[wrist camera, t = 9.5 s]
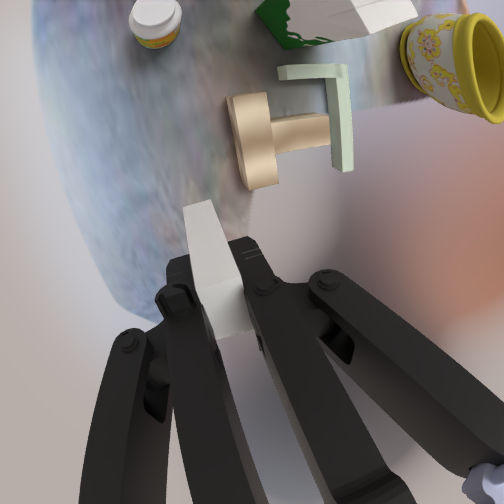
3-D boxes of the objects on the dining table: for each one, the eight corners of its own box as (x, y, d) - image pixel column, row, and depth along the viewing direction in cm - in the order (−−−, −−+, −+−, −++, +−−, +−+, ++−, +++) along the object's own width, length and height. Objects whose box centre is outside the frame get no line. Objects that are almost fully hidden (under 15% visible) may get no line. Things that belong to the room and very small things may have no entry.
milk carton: (296, -14, 23) (393, -61, 7) (330, 35, 28) (442, 21, 12) (244, 8, 24) (321, -56, 8) (282, 59, 29) (387, 43, 13)
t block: (225, 96, 30) (232, 97, 27) (311, 86, 32) (325, 86, 29) (241, 181, 37) (249, 190, 34) (318, 164, 39) (332, 171, 36)
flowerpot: (456, 83, 36) (519, 101, 23) (411, 118, 38) (486, 144, 25) (425, 7, 26) (495, 7, 12) (370, 28, 28) (454, 23, 15)
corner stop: (276, 66, 30) (285, 65, 27) (334, 64, 31) (346, 64, 28) (291, 175, 39) (299, 181, 36) (342, 164, 40) (353, 170, 38)
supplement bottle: (130, 47, 23) (116, 30, 16) (143, 11, 21) (135, -16, 13) (172, 52, 25) (173, 35, 18) (185, 15, 23) (190, -11, 15)
